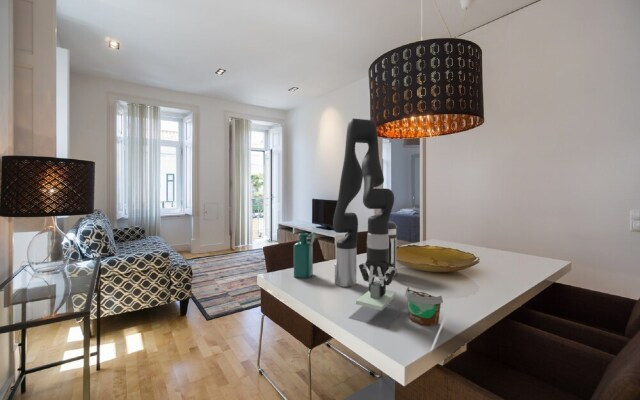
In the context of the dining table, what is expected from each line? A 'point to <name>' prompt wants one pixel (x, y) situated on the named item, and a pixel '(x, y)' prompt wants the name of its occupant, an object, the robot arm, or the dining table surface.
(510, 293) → the dining table surface
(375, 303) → the lid
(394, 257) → the coffee press
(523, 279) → the dining table surface
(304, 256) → the green bottle
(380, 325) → the mat
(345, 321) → the dining table surface
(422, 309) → the food container
